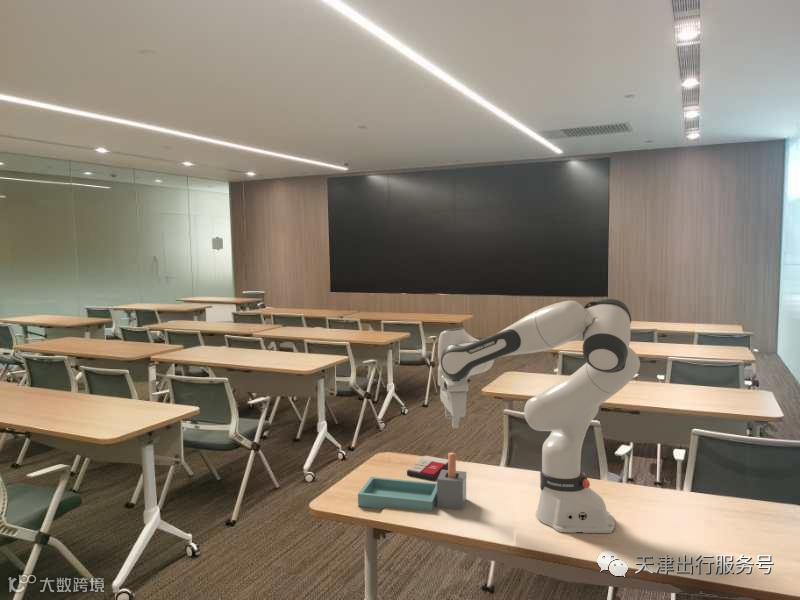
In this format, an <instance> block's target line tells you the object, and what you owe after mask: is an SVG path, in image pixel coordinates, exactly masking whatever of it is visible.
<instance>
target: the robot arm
mask: <svg viewBox="0 0 800 600" xmlns="http://www.w3.org/2000/svg"><path fill="white" fill-rule="evenodd" d="M631 323H632V317H631V312H630V310H629V307H628V306H627V305H626V304H625V303H624V302H623V301H621V300H619V299H612V298H604V299H599V300H596V301H590V302H588V303H586V304H585V305H584V306H583V305H582V304H581V303H579V302H578V301H576V300H564V301H560V302H557V303H552V304H550V305H546V306H543V307H542V308H540V309H537V310H535V311H532V312H531V313H529V314H527V315H525V316H524V317H522V318H520V319H519V320H517V321H515V322H514V323H512V324H510V325H509V326H507V327H505V328H504V329H502V330H500V331H498V332H496V333H495V334H493V335H492V334H491V335H490V336H487V337H485V338H482V339H480V340H479V339H477V338H475V337H473V336H472V335H470V334H469V333H468V332H467V331H466V330H465V328H462V327H461V328H460V327H457V328H449V329H445V330H442V331H441V332H440V334H439V337H438V343H437V345H438V346H437V358H438V363H439V364H438V367H437V386H439V387H440V389H439V390H440V394H439V398H440V401H441V403H442V404H443V405H444V406H443V407H444V413H445V418H446V420H452V421H451V427H452V428H453V429H458V428H459V425H460V424H459V423H460V419H461V418H464V417H465V415H466V413H467V392H468V391H469V383H468V380H467V379H468V377H472V376H475V375H478V374H483V373H484V372H486V371H489V370H490V369H492V367H494V363H495V360H496V359H499V358H504V357H507V356H508V357H510V356H516V355H525V354H526V355H527V354H535V353H539V352H544V351H549V350H551V349H552V350H553V349H555V348H558V347H559V346H562V345H565V344H567V343H568V342H569V343H570V342H575V341H577V342H582V356H583V358H584V361H585V363H584V364H583V365H582V366H580V367H579V368H578V369H577V370H576V371H575V372H573V373H572V374H571V375H569V376H568V377H565V378H564V379H562V380H561V381H559V382H557V383H556V384H553V385H552V386H550V387H549V388H547V389H546V390H544V391H542V392H541V393H539V394H537V395H535V396H533V397H531V398H528V400H526V403H525V405H524V408H523V409H524V410H523V411H524V413H523V414H524V419H525V421H526V422H527V424H528V426H529V427H530V428H531V429H533V430H535V431H537V432H550V434H549V436H548V437H547V438H546V439H545V441H544V442H543V444H542V447H541V453H542V454H541V469H540V474H539V487H540V493H539V494H540V495H539V499H538V500H539V501H538V505H537V509H536V512H535V517H536V518H537V519H538V521H540V522H541V523H543V524H544V525H547V526H549V527H551V528H553V529H554V530H555V531H557V532H560V533H576V532H583V534H584V533H586V534H588V533H589V534H590V533H591V534H611V533H613V532H614V531H615V529H614V528H616V523H615V518H614V517H613V515H612V513H611V512H610V511H609V510H607V507H606V502H605V501H604V499H603V497H602V496H601V495H600V494H598V493H597V492H596V491H594V490H593V489H592V488H590V486H591V483H590V481H589V479H588V476H587V475H586V473H585V472H581V460H582V459H581V458H582V456H581V455H582V449H583V444H584V440H585V437H586V435H587V431H588V430H589V426H590V424H591V422H592V421H593V420H594V419H595V418H596V417H597V415H598V413H599V410H600V405H602V404H603V403H605V402H606V401H607V400H609V399H610V398H612V397H613V396H614V395H616V394H617V393H618V392H619V391H621V390H622V389H623V388H624V387H626V386H627V385H628V384H629V383H630V381H632V380H633V379H634V377H635V376H636V375H637V374H638V372H639V370H640V366H641V361H640V358H639V356H638V354H637V353H636V352H635V351H634V349H633V348H631V347H630V342H631ZM613 530H614V531H613ZM612 531H613V532H612Z"/></svg>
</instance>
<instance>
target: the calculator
mask: <svg viewBox="0 0 800 600" xmlns="http://www.w3.org/2000/svg"><path fill="white" fill-rule="evenodd" d="M441 470H448V458H447V459H446V458H441V457H440V458H439V457H435V456H429V455H424V456H422V457H421V458H420V459H419V460H417V461H416V463H414V464H413V465H412V466H411V467H409V468H408V469H407V471H406V475H407V476H408V477H414V478H416V479H417V478H418V479H423V480H428V481H432V482H436V481H437V479H438V476H439V474H440V472H441Z"/></svg>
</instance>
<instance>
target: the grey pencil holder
mask: <svg viewBox="0 0 800 600" xmlns="http://www.w3.org/2000/svg"><path fill="white" fill-rule="evenodd" d="M436 483H437V501H436V505H437V506H436V508H439V509H447V510H448V509H450V510H459V511H464V508H465V504H466V501H467V471H462V470H460V471H459V470H456V478H448V470H441V472H440V474H439V476H438V478H437V479H436Z"/></svg>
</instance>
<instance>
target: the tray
mask: <svg viewBox="0 0 800 600" xmlns="http://www.w3.org/2000/svg"><path fill="white" fill-rule="evenodd" d="M436 505H437V482H430V481H429V482H428V481H419V480H408V479H397V478H389V477H386V478H385V477H378V476H377V477H376V476H370V477H369V479H368V480H367V481H366V482H365V485H364V486H363V487H362V488H361V489H360V491H359V492H358V493H357V507H364V508H372V509H381V510H383V509H385V508H386V507H389V508H399V509H407V510H416V511H427V512H433V511H434V508H435V506H436Z"/></svg>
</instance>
